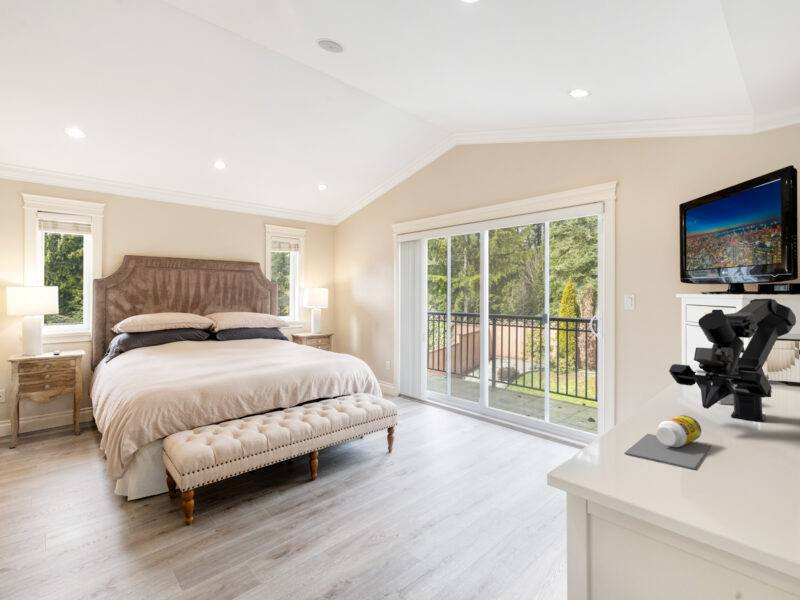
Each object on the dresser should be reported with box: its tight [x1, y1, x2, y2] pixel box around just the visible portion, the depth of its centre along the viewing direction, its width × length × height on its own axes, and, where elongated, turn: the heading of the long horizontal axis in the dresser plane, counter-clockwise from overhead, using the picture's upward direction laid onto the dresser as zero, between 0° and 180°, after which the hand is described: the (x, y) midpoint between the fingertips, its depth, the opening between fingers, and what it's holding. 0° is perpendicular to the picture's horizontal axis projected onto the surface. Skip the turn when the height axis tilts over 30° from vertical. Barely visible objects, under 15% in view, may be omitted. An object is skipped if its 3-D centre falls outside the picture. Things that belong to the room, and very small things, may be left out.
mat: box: [624, 433, 712, 471], centre depth 85 cm, size 16×12×1 cm
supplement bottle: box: [655, 414, 703, 447], centre depth 87 cm, size 6×6×10 cm
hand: (705, 407), depth 95 cm, fingers closed
